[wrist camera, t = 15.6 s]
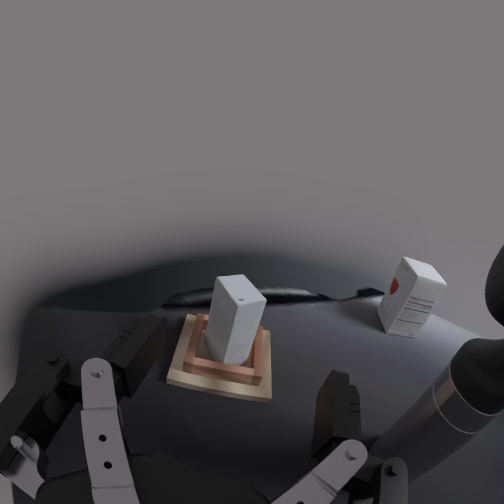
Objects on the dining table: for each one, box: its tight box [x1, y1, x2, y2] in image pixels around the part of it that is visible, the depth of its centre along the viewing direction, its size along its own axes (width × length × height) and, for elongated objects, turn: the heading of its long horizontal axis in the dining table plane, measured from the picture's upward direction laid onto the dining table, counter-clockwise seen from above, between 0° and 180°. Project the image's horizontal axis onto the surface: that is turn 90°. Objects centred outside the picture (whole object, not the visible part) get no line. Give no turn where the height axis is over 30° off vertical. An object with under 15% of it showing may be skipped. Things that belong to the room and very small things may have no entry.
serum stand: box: [166, 313, 272, 403], centre depth 40 cm, size 14×14×3 cm
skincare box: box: [204, 275, 266, 366], centre depth 37 cm, size 6×4×12 cm
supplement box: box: [377, 257, 447, 338], centre depth 55 cm, size 9×9×15 cm
